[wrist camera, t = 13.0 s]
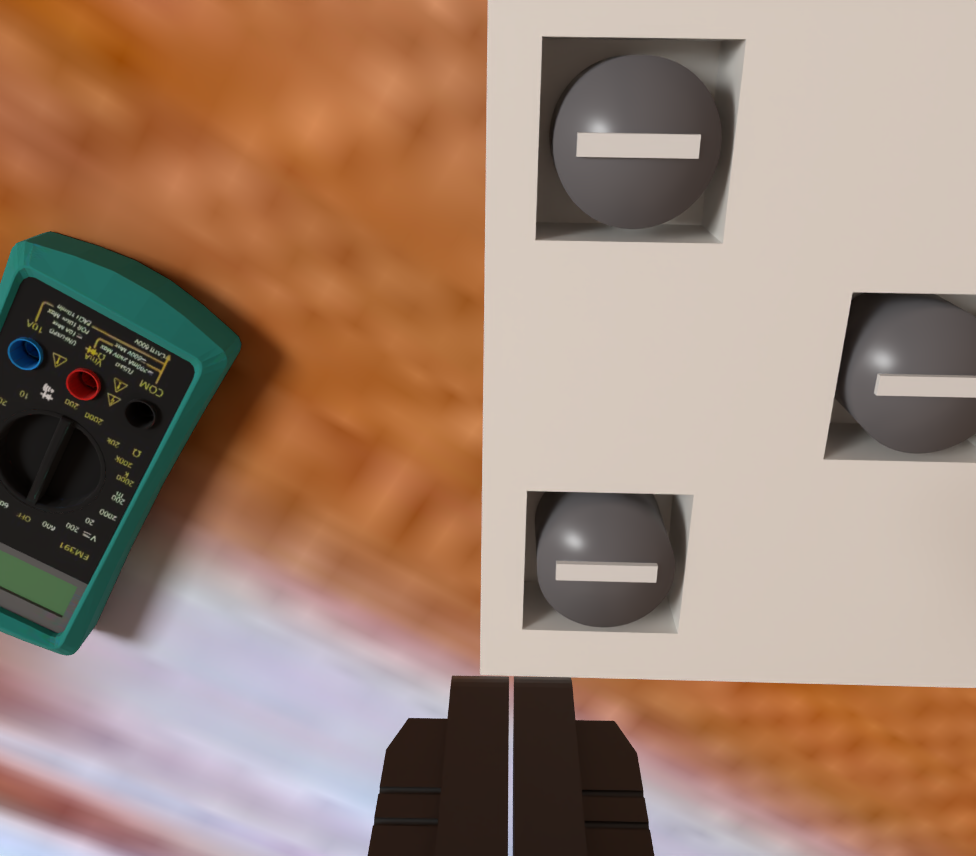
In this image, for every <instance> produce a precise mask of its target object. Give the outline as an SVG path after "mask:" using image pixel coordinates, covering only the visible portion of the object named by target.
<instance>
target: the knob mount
mask: <svg viewBox="0 0 976 856" xmlns="http://www.w3.org/2000/svg"><path fill="white" fill-rule="evenodd" d="M621 55H654V56H659V57H663V58H667V59H670V60H672V61H675V62H677V63H679V64H681V65H682V66H684V67H686V68H687V69H689V70H690V71H691V72H692V73H694V74H695V75H696V76H697V77H698V78H699V79H700V80H701V81H702V82H703V84H704V85H705V86H706V88H707V89H708V91H709V92H710V94H711V96H712V98H713V100H714V102H715V104H716V107H717V110H718V113H719V117H720V122H721V132H722V141H721V151H720V156H719V160H718V164H717V167H716V170H715V172H714V174H713V177H712V179H711V181H710V182H709V184H708V186H707V187H706V189H705V190H704V192H703V193H702V194H701V196H700V197H699V198H698V199H697V200H696V201H695V202H694V203H693V204H692V205H691V206H690V207H689V208H688V209H687V210H685V211H684V212H683V213H682V214H680V215H678V216H677V217H675V218H673V219H672V220H669V221H667V222H665V223H663V224H660V225H657V226H653V227H649V228H643V229H622V228H617V227H612V226H609V225H606V224H603V223H601V222H599V221H597V220H595V219H593V218H591V217H590V216H589V215H587V214H586V213H584V212H583V211H582V210H581V209H580V208H579V207H578V206H577V205H576V204H575V203H574V202H573V201H572V199H571V198H570V197H569V195H568V194H567V192H566V190H565V189H564V187H563V185H562V183H561V180H560V178H559V176H558V173H557V170H556V168H555V165H554V163H553V159H552V156H551V150H550V142H549V132H550V123H551V119H552V114H553V112H554V109H555V106H556V103H557V102H558V100H559V98H560V96H561V94H562V92H563V91H564V90H565V88H566V87H567V85H568V84H569V83H570V82H571V81H572V80H573V78H575V77H576V76H577V75H578V74H579V73H580V72H581V71H583V70H584V69H586V68H587V67H589V66H590V65H592V64H594V63H596V62H598V61H600V60H603V59H606V58H609V57H614V56H621ZM864 292H867V293H920V294H936V295H938V296H940V297H941V298H943V299H945V300H947V301H949V302H950V303H952V304H954V305H956V306H957V307H959V308H961V309H963V310H965V311H966V312H968V313H970V314H972V315H974V316H975V317H976V0H488V38H487V123H486V208H485V293H484V378H483V463H482V548H481V634H480V675H505V676H543V677H581V678H619V679H657V680H695V681H732V682H770V683H808V684H846V685H884V686H922V687H959V688H976V433H975V434H974V435H973V436H971V437H970V438H968V439H967V440H965V441H963V442H961V443H959V444H957V445H955V446H953V447H950V448H947V449H945V450H941V451H937V452H931V453H921V454H914V453H905V452H900V451H896V450H893V449H890V448H888V447H886V446H884V445H882V444H880V443H879V442H878V441H876V440H875V439H874V438H873V437H872V436H870V435H869V434H868V433H867V432H866V430H865V429H864V428H863V427H862V426H861V425H860V424H859V423H858V422H857V421H856V420H855V419H854V418H853V417H852V416H851V415H850V414H849V413H848V411H847V410H846V409H845V408H844V407H843V406H842V405H841V404H840V403H839V402H838V401H837V400H836V399H835V398H834V396H835V390H836V384H837V378H838V373H839V367H840V361H841V356H842V350H843V344H844V338H845V333H846V327H847V321H848V316H849V310H850V304H851V300H853V299H854V298H855V297H857V296H859V295H860V294H862V293H864ZM545 491H552V492H596V493H640V494H653V495H654V497H655V499H656V501H657V504H658V507H659V510H660V513H661V516H662V519H663V522H664V525H665V528H666V531H667V535H668V538H669V541H670V544H671V547H672V550H673V554H674V558H675V574H674V579H673V582H672V585H671V588H670V590H669V592H668V594H667V595H666V597H665V598H664V599H663V601H662V602H661V603H660V604H659V605H658V606H657V607H656V608H655V609H654V610H653V611H651V612H650V613H649V614H647V615H646V616H644V617H642V618H640V619H638V620H636V621H634V622H631V623H629V624H625V625H621V626H616V627H592V626H586V625H582V624H579V623H576V622H574V621H572V620H569V619H568V618H566V617H564V616H563V615H561V614H560V613H559V612H557V611H556V610H555V609H554V608H553V607H552V606H551V605H550V604H549V602H548V601H547V600H546V598H545V597H544V595H543V593H542V591H541V588H540V585H539V582H538V576H537V557H536V537H535V514H536V510H537V506H538V504H539V501H540V499H541V497H542V496H543V494H544V492H545Z"/></svg>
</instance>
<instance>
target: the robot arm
mask: <svg viewBox="0 0 976 856" xmlns="http://www.w3.org/2000/svg"><path fill="white" fill-rule="evenodd" d="M508 735H509V677H503V676H452V680H451V689H450V699H449V710H448V719H430V718H408V720H407V721H406V723H405V724H404V725H403V727H402V728H401V730H400V731H399V732H398V734H397V735H396V737H395V738H394V739H393V741H392V742H391V744H390V745H389V746H388V748H387V749H386V754H385V760H384V765H383V771H382V777H381V783H380V793H379V794H378V800H377V805H376V811H375V817H374V825H373V828H372V834H371V840H370V846H369V851H368V856H508ZM648 823H649V822H648V816H647V810H646V804H645V798H644V797H643V786H642V780H641V774H640V768H639V762H638V756H637V753H636V751H635V750H634V748H633V747H632V745H631V744H630V743H629V741H628V740H627V738H626V737H625V735H624V734H623V732H622V731H621V730H620V728H619V727H618V725H617V724H616V722H615V721H584V720H575V711H574V699H573V688H572V680H571V677H523V676H514V729H513V856H654V851H653V845H652V839H651V833H650V830H649V825H648Z"/></svg>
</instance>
